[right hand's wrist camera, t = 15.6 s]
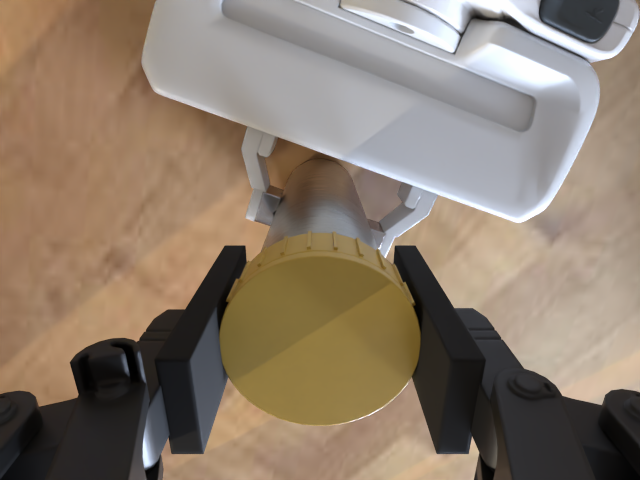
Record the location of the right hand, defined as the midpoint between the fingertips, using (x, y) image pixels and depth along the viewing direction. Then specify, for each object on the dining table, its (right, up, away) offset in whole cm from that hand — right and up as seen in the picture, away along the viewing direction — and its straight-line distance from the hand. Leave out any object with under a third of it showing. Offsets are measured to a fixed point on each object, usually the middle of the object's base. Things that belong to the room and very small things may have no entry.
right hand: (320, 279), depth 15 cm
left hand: (0, +2, +7) cm, 7 cm away
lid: (0, -1, -4) cm, 4 cm away
